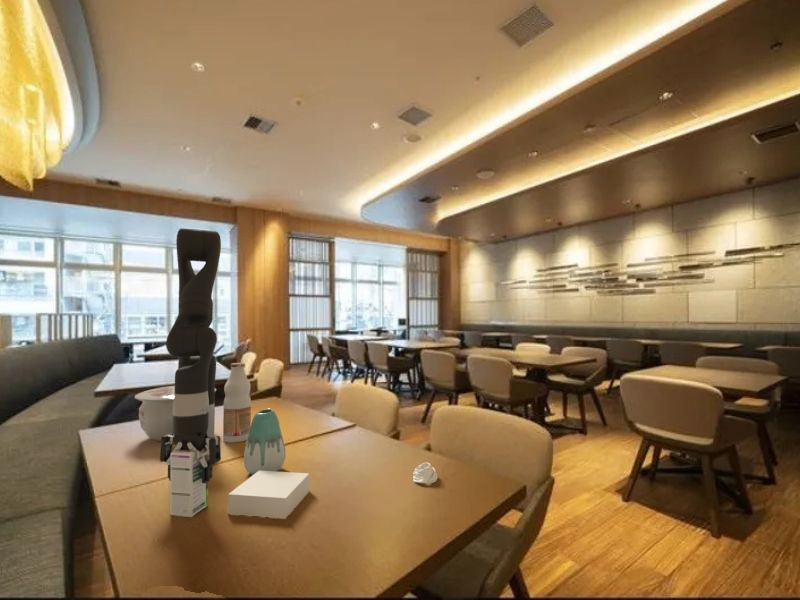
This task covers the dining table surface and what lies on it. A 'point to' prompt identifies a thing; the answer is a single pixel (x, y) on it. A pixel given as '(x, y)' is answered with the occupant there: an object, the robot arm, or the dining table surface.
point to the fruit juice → (237, 405)
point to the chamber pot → (157, 411)
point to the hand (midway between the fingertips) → (189, 480)
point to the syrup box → (187, 484)
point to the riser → (269, 494)
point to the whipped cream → (425, 474)
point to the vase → (264, 443)
